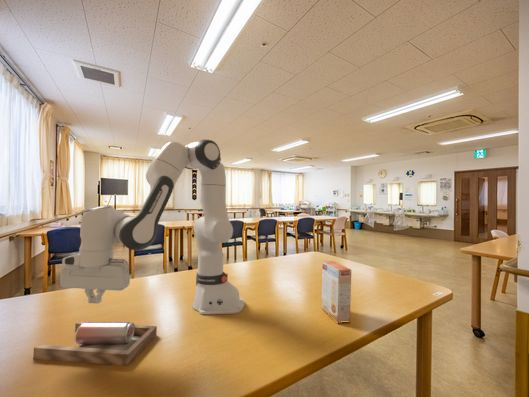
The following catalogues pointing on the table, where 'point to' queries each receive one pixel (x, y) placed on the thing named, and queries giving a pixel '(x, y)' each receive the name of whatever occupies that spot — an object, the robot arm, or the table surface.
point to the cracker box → (336, 290)
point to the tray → (100, 349)
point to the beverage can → (104, 333)
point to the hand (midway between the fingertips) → (94, 302)
